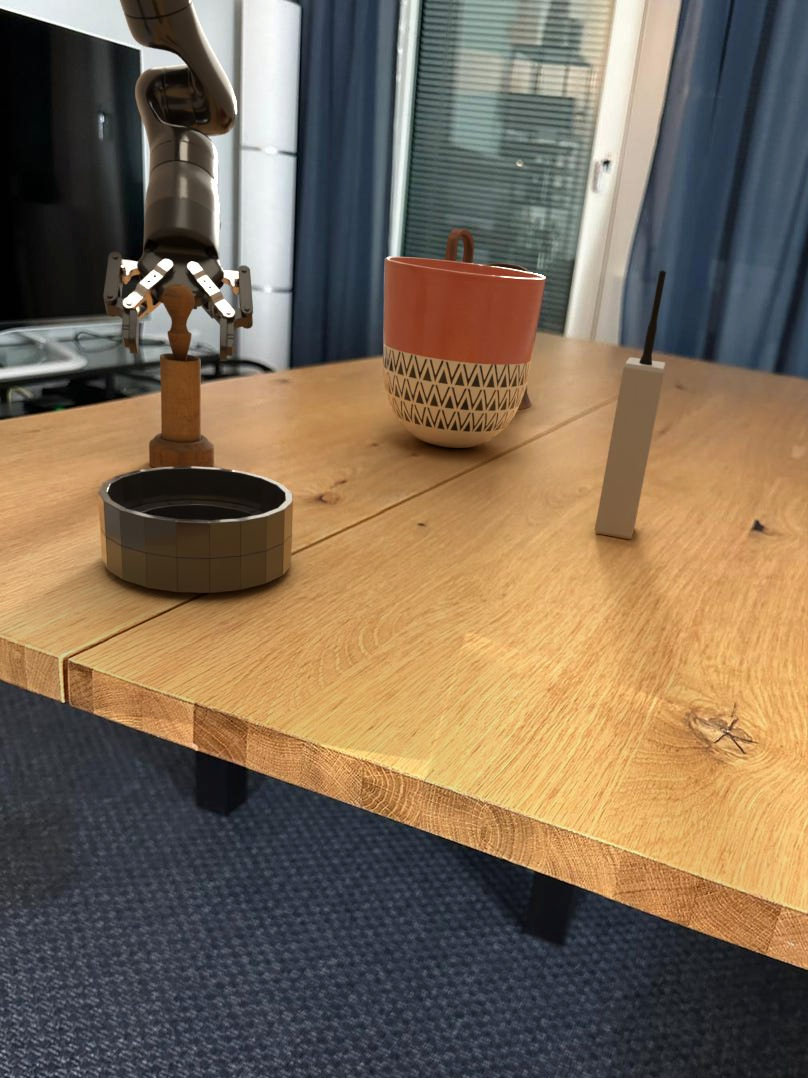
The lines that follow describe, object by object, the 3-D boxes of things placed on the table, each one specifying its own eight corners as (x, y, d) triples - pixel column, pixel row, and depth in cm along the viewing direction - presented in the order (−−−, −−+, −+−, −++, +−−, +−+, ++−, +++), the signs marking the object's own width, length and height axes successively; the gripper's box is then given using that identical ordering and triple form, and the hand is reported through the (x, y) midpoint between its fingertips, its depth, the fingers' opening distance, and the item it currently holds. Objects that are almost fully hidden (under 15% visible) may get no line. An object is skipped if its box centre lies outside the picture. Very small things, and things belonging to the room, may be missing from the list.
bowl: (68, 583, 68) (62, 504, 65) (151, 525, 80) (148, 457, 78) (258, 612, 67) (259, 533, 64) (310, 548, 80) (313, 481, 77)
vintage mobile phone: (634, 526, 97) (684, 271, 86) (630, 540, 92) (683, 273, 82) (599, 520, 97) (644, 266, 87) (593, 533, 93) (641, 267, 82)
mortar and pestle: (207, 476, 95) (205, 291, 88) (142, 470, 94) (134, 283, 87) (219, 459, 101) (218, 285, 94) (158, 454, 100) (152, 277, 93)
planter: (475, 473, 108) (497, 278, 99) (342, 438, 116) (351, 255, 107) (547, 448, 124) (572, 278, 115) (426, 419, 132) (440, 258, 123)
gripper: (105, 185, 92) (96, 322, 87) (253, 202, 95) (253, 335, 90) (114, 239, 98) (107, 369, 93) (252, 254, 102) (252, 380, 97)
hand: (179, 352), depth 92 cm, fingers open, 8 cm apart
